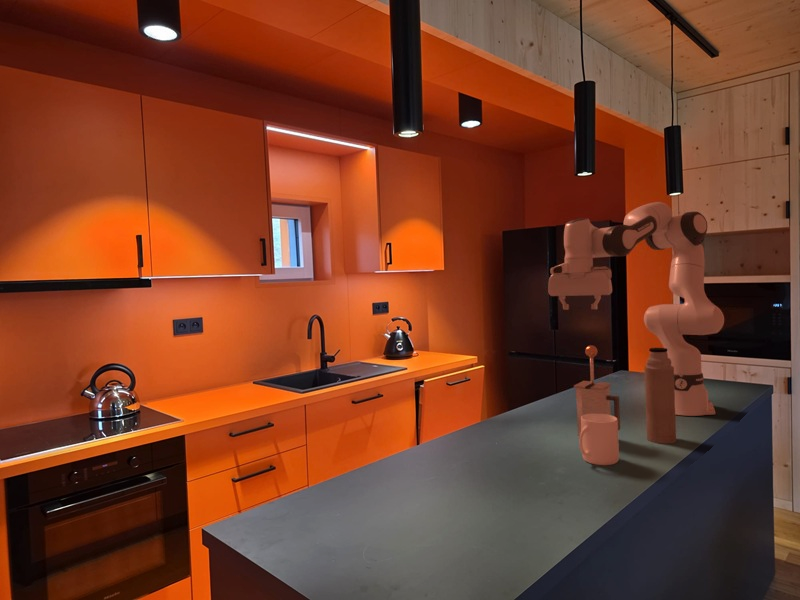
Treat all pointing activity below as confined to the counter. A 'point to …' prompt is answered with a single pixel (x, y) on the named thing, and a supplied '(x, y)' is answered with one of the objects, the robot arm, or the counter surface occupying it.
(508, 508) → the counter surface
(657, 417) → the thermos bottle
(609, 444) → the mug
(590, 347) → the copper ball on rod
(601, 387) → the press carafe
